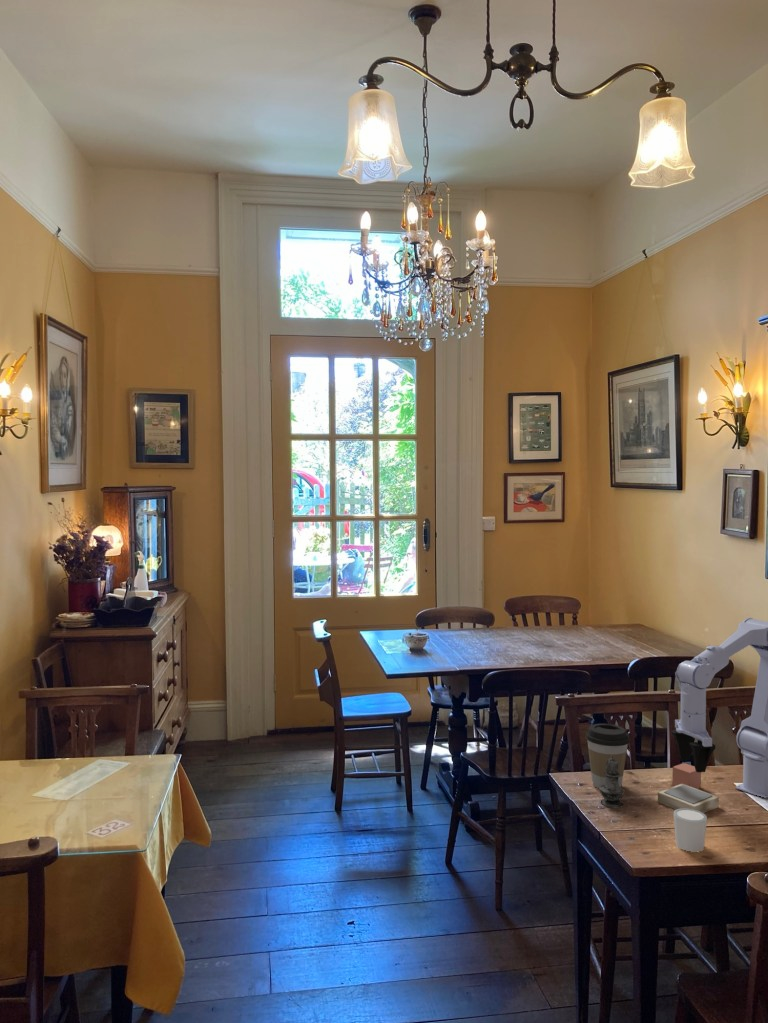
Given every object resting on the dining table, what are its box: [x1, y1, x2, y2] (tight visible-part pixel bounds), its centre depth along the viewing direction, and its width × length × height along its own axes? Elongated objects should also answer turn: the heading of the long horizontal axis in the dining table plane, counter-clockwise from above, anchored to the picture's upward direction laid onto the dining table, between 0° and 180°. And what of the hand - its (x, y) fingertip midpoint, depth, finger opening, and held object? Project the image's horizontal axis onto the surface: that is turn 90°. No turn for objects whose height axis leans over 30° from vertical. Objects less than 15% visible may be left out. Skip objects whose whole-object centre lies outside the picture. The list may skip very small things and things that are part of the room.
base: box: [657, 784, 720, 814], centre depth 183 cm, size 10×10×3 cm
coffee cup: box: [584, 723, 631, 790], centre depth 195 cm, size 11×11×15 cm
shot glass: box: [673, 809, 708, 853], centre depth 162 cm, size 7×7×7 cm
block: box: [671, 762, 702, 789], centre depth 195 cm, size 5×5×5 cm
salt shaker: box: [599, 755, 625, 809], centre depth 184 cm, size 6×6×12 cm
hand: (692, 765), depth 182 cm, fingers open, 7 cm apart
